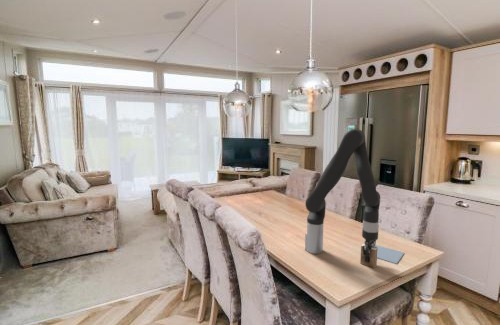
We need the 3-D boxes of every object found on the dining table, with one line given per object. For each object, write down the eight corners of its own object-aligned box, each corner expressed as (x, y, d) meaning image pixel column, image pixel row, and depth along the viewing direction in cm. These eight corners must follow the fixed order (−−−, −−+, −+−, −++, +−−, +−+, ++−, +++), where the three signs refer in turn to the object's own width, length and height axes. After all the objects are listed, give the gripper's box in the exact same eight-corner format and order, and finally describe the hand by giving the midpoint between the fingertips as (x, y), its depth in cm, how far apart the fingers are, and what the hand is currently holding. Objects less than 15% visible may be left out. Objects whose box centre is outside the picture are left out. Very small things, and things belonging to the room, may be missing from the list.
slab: (360, 263, 139) (361, 245, 138) (362, 260, 142) (363, 243, 140) (374, 268, 134) (375, 249, 133) (376, 265, 137) (377, 247, 136)
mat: (361, 253, 150) (361, 252, 150) (371, 244, 162) (371, 243, 162) (396, 264, 138) (396, 263, 138) (404, 253, 150) (404, 252, 150)
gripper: (367, 223, 143) (365, 253, 145) (357, 231, 133) (356, 263, 135) (382, 226, 138) (380, 257, 140) (373, 235, 128) (371, 268, 130)
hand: (368, 260), depth 138 cm, fingers closed on slab, 3 cm apart
